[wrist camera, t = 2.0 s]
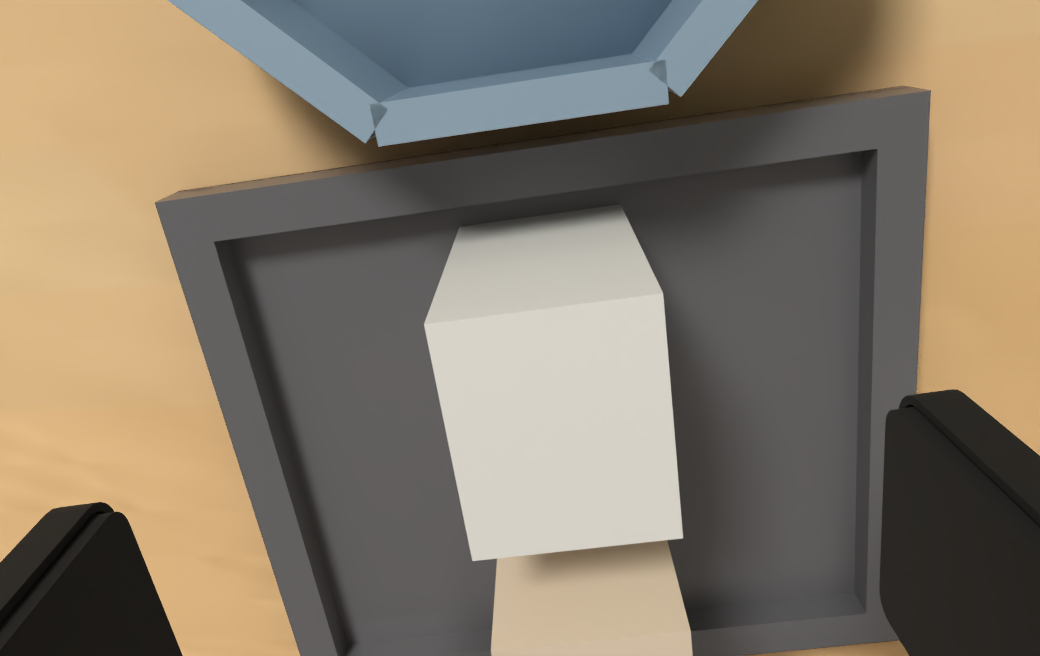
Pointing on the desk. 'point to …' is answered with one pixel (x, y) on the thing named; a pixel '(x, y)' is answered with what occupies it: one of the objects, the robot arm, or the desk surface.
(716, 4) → the bowl
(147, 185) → the desk surface
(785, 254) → the tray
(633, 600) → the beige rectangular block
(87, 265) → the desk surface
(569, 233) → the white block
